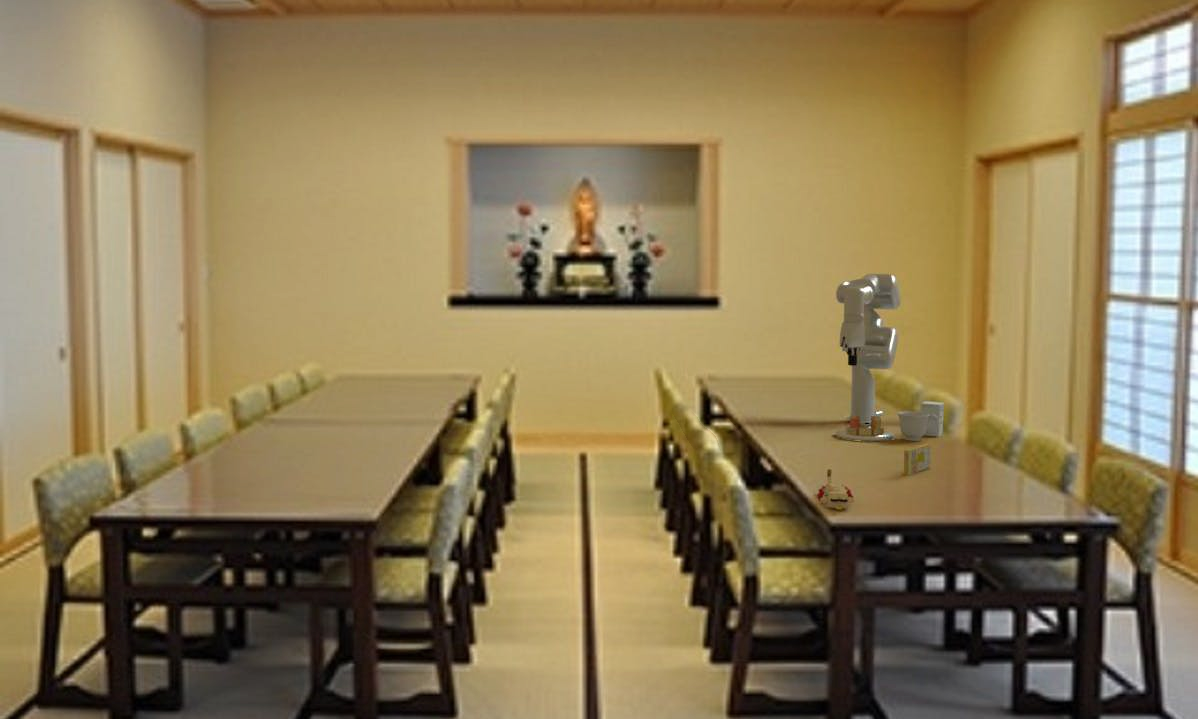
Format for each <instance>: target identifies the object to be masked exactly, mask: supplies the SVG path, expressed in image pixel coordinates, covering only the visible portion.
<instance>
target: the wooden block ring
mask: <svg viewBox="0 0 1198 719" xmlns="http://www.w3.org/2000/svg"><path fill="white" fill-rule="evenodd" d="M849 417H850V422H849V423H848V424H846V428H845V429H846V433H849V434H854V435H865V436H871V435H873V436H876V435H883V434H884V431H885V426H883V425H881V424H882V418H881V417H882V416H871V423H869V424H865V423H860V416H858V415H851V414H850V416H849ZM861 425H865V426H871V428H859V427H860V426H861Z"/></svg>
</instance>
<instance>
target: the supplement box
mask: <svg viewBox="0 0 1198 719" xmlns="http://www.w3.org/2000/svg"><path fill="white" fill-rule="evenodd" d="M944 407H945V402H937V401H927V400H926V401H923V402H922V403H921V408H920V412H924V413H929V414H930V416H931V415H936V416H937V418H938V423H937V424H936V425H935V426H933V427H930V428H928V429H927V430H926V432H925V434H924V435H923V436H925V437H926V436H927V437H935V436H936V437H937V438H939V437H941V436H942V435H943V426H944V410H945V409H944ZM930 416H929V419H930ZM935 421H936V419H935V418H934V417H932V418H931V420H928V421H927V426H926V428H927V427H928V426H929V425H932V424H934V423H935Z"/></svg>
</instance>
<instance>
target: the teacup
mask: <svg viewBox="0 0 1198 719" xmlns="http://www.w3.org/2000/svg"><path fill="white" fill-rule="evenodd" d="M897 415H898V418H899V420H898V421H899V429H900V434H902V435H903V437H904V440H905V441H908V440H909V442H910V441H911V442H918V441H919V442H920V441H921V438H922V437H923V436H925V435H924V434H925V432H926V430H927V429H928V428H930V427H933V426H935V425H936V424H937V423H938V418H937V416H936V415H931V416H930V414H929V413H924V412H921V411H912V410H911V411H910V410H909V411H908V410H905V411H898V412H897ZM929 416H930V419H929ZM932 417H934V418H935V419H936V421H935V423H934V424H932V425H929V426H928V427H927V428H926V426H927V421H928V420H931V418H932Z"/></svg>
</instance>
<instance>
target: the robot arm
mask: <svg viewBox="0 0 1198 719" xmlns="http://www.w3.org/2000/svg"><path fill="white" fill-rule="evenodd" d="M901 295H902V294H901V292H900V287H899V284H898V281H897V279H896V277H895V276H894V275H893V274H890V273H869V274H868V273H867V274H865V275H864V276H862V277H861V278H859V279H853V280H847V281H843V282H842V283H840V284H839V285H838V286H837V288H836V294H835V297H836V300H837V302H838V303H840V304H843V322H842V324H841V327H840V334H839V347H841V350H842V352H845V353H846V355H847V365H848V366H851V393H850V394H851V398H850V415H858V416H860V424H865V423H869V424H871V416H881V417H882V416H883V415H884V414H883V411H877V410H876V409H875V407H876V406H875V405H876V404H875V402H876V378H875V375H874V374H873V372H872V371H871V370H872V369H873V370H890V369H891V368H892V367H893V365H894V362H895V358H896V352H897V349H898V348H897V347H898V343H899V335H898V332H897V329H896V328H894V327H890V326H883V325H884V321H883V318H882V317H881V315H879V313H878V312H877V311H875V310H896V309H898V308H899V307H900V305H901V303H902V302H901V301H902V296H901ZM848 421H850V416H849V417H846V422H848Z"/></svg>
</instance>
